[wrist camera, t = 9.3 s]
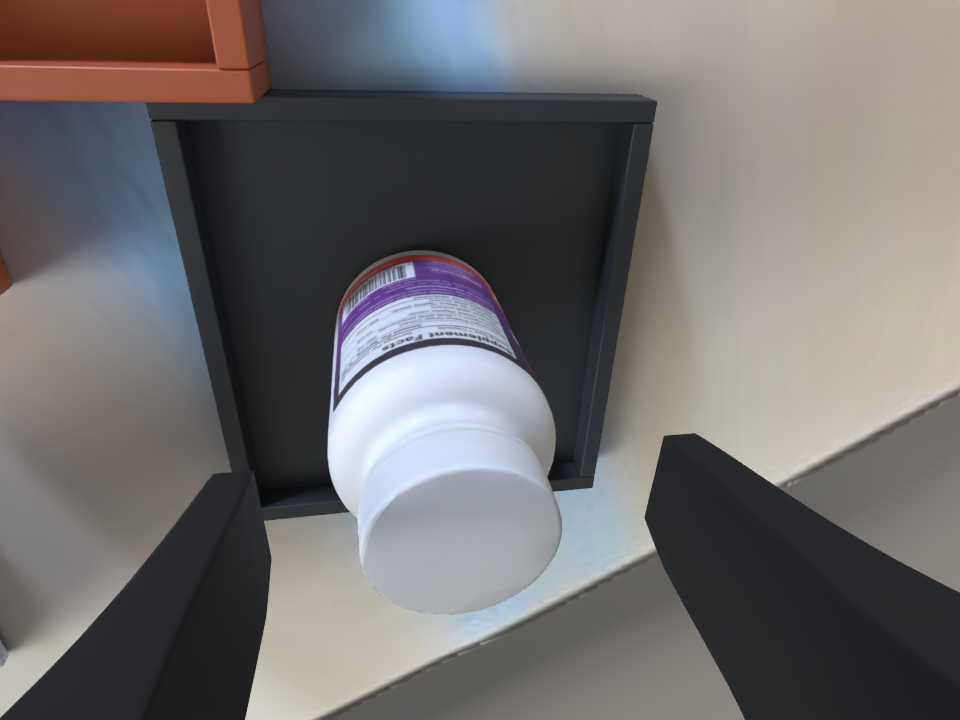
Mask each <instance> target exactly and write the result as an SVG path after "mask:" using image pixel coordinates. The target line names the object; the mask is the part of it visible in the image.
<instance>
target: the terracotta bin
mask: <svg viewBox="0 0 960 720" xmlns="http://www.w3.org/2000/svg"><path fill="white" fill-rule="evenodd" d="M271 87H272V86H271V78H270V71H269V63H268V55H267V48H266V40H265V33H264V25H263V18H262V10H261V3H260V0H0V101H58V102H152V103H247V104H252V103H255V102H256V101H257V100H258V99H259V98H260V97H261V96H263V95H264V94H265V93H266V92H267V91H268V90H270V89H271Z"/></svg>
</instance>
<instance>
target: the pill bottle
mask: <svg viewBox="0 0 960 720" xmlns="http://www.w3.org/2000/svg"><path fill="white" fill-rule="evenodd" d="M555 442H556V432H555V424H554V420H553V416H552V412H551V410H550V407H549V405H548V401H547V398H546V396H545V395H544V393H543V391H542V389H541V387H540V385H539V383H538V381H537V379H536V377H535V375H534V373H533V372H532V370H531V368H530V366H529V364H528V361H527V359H526V357H525V355H524V354H523V352H522V350H521V348H520V346H519V344H518V342H517V340H516V338H515V336H514V334H513V332H512V329H511V327H510V325H509V323H508V321H507V319H506V317H505V315H504V312H503V310H502V308H501V306H500V304H499V302H498V300H497V298H496V296H495V294H494V293H493V291H492V289H491V287H490V286H489V285H488V283H487V282H486V280H485V279H484V278H483V277H482V276H481V275H480V274H479V273H478V272H477V271H476V270H475V269H474V268H472V267H471V266H470V265H468V264H467V263H465V262H464V261H462V260H460V259H458V258H456V257H453V256H450V255H448V254H444V253H441V252H435V251H427V250H415V251H406V252H401V253H397V254H394V255H391V256H388V257H385V258H383V259H381V260H379V261H377V262H375V263H374V264H372V265H371V266H369V267H368V268H366V269H365V270H364V271H363V272H362V273H361V274H359V275H358V277H357V278H356V279H355V280H354V281H353V282H352V284H351V285H350V286H349V288H348V289H347V291H346V293H345V295H344V297H343V299H342V301H341V304H340V307H339V310H338V314H337V320H336V328H335V339H334V356H333V371H332V387H331V403H330V416H329V429H328V464H329V470H330V475H331V479H332V482H333V485H334V488H335V490H336V492H337V494H338V495H339V497H340V499H341V501H342V502H343V504H344V505H345V507H346V508H347V509H348V510H349V511H350V512H351V513H352V514H353V515H354V516H355V517H356V518H357V520H358V537H359V553H360V561H361V565H362V568H363V571H364V573H365V575H366V578H367V579H368V581H369V582H370V584H371V585H372V586H373V588H374V589H375V590H376V591H377V592H378V593H379V594H380V595H382V596H383V597H384V598H386V599H387V600H389V601H391V602H392V603H394V604H396V605H398V606H400V607H403V608H406V609H408V610H411V611H416V612H420V613H426V614H442V615H452V614H461V613H468V612H473V611H477V610H480V609H484V608H487V607H490V606H493V605H496V604H498V603H500V602H503V601H505V600H507V599H509V598H511V597H513V596H514V595H516V594H517V593H519V592H520V591H522V590H523V589H525V588H526V587H528V586H529V585H530V584H532V583H533V582H534V581H535V580H536V579H537V578H538V577H539V576H540V575H541V574H542V573H543V572H544V570H545V569H546V568H547V566H548V565H549V563H550V562H551V560H552V559H553V557H554V556H555V553H556V551H557V549H558V546H559V543H560V539H561V533H562V520H561V514H560V511H559V507H558V504H557V502H556V499H555V497H554V494H553V491H552V488H551V485H550V483H549V480H548V478H547V476H548V474H549V471H550V468H551V466H552V463H553V458H554V452H555Z"/></svg>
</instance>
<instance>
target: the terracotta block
mask: <svg viewBox="0 0 960 720" xmlns="http://www.w3.org/2000/svg"><path fill="white" fill-rule="evenodd" d="M11 286H12V283H11V280H10V278H9V275H8V273H7V270H6V268H5V265H4V263H3V260H2V258H1V255H0V295H1V294H3V293H4V292H5V291H6V290H8V289H9V288H10V287H11Z"/></svg>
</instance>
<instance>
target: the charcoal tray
mask: <svg viewBox="0 0 960 720" xmlns="http://www.w3.org/2000/svg"><path fill="white" fill-rule="evenodd" d="M146 104H147V108H148V113H149V117H150V119H152V120H151V126H152V131H153V135H154V139H155V143H156V148H157V152H158V156H159V161H160V165H161V169H162V173H163V178H164V182H165V186H166V191H167V195H168V199H169V204H170V208H171V212H172V216H173V221H174V225H175V229H176V234H177V238H178V242H179V247H180V251H181V255H182V259H183V264H184V268H185V272H186V277H187V281H188V285H189V290H190V294H191V298H192V302H193V307H194V311H195V315H196V320H197V324H198V328H199V332H200V337H201V341H202V345H203V350H204V354H205V358H206V363H207V367H208V371H209V375H210V380H211V384H212V388H213V393H214V397H215V401H216V406H217V410H218V414H219V418H220V423H221V427H222V431H223V436H224V440H225V444H226V449H227V453H228V457H229V461H230V466H231V470H232V472H242V471H254V476H255V480H256V485H257V490H258V495H259V500H260V505H261V510H262V515H263V520H264V521H265V520H275V519H285V518H295V517H305V516H315V515H325V514H334V513H344V512H350V511H349V510H348V509H347V508H346V507H345V505H344V504H343V502H342V501H341V499H340V497H339V495H338V494H337V492H336V490H335V488H334V485H333V482H332V479H331V475H330V470H329V464H328V429H329V416H330V403H331V387H332V371H333V356H334V339H335V328H336V320H337V314H338V310H339V307H340V304H341V301H342V299H343V297H344V295H345V293H346V291H347V289H348V288H349V286H350V285H351V284H352V282H353V281H354V280H355V279H356V278H357V277H358V275H359V274H361V273H362V272H363V271H364V270H365V269H366V268H368V267H369V266H371V265H372V264H374V263H375V262H377V261H379V260H381V259H383V258H385V257H388V256H391V255H394V254H397V253H401V252H406V251H415V250H427V251H435V252H441V253H444V254H448V255H450V256H453V257H456V258H458V259H460V260H462V261H464V262H465V263H467V264H468V265H470V266H471V267H472V268H474V269H475V270H476V271H477V272H478V273H479V274H480V275H481V276H482V277H483V278H484V279H485V280H486V282H487V283H488V285H489V286H490V287H491V289H492V291H493V293H494V294H495V296H496V298H497V300H498V302H499V304H500V306H501V308H502V310H503V312H504V315H505V317H506V319H507V321H508V323H509V325H510V327H511V329H512V332H513V334H514V336H515V338H516V340H517V342H518V344H519V346H520V348H521V350H522V352H523V354H524V355H525V357H526V359H527V361H528V364H529V366H530V368H531V370H532V372H533V373H534V375H535V377H536V379H537V381H538V383H539V385H540V387H541V389H542V391H543V393H544V395H545V396H546V398H547V401H548V405H549V407H550V410H551V412H552V416H553V420H554V424H555V432H556V442H555V452H554V458H553V463H552V466H551V468H550V471H549V474H548V476H547V478H548V480H549V483H550V485H551V488H552V491H553V492H554V491H564V490H574V489H584V488H592V487H593V481H594V475H595V469H596V463H597V457H598V451H599V445H600V439H601V433H602V427H603V421H604V415H605V409H606V403H607V397H608V391H609V385H610V379H611V374H612V368H613V362H614V356H615V350H616V344H617V338H618V332H619V326H620V320H621V314H622V308H623V302H624V296H625V290H626V284H627V278H628V272H629V266H630V261H631V255H632V249H633V243H634V237H635V231H636V225H637V219H638V213H639V207H640V201H641V195H642V189H643V183H644V177H645V171H646V165H647V159H648V154H649V148H650V142H651V136H652V130H653V124H652V123H653V122H654V117H655V111H656V105H657V101H656V100H653V99H650V98H647V97H644V96H641V95H638V94H577V93H508V92H439V91H370V90H301V89H270V90H268V91H267V92H266V93H265V94H264V95H263V96H261V97H260V98H259V99H258V100H257V101H256V102H255V103H252V104H247V103H152V102H146Z"/></svg>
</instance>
